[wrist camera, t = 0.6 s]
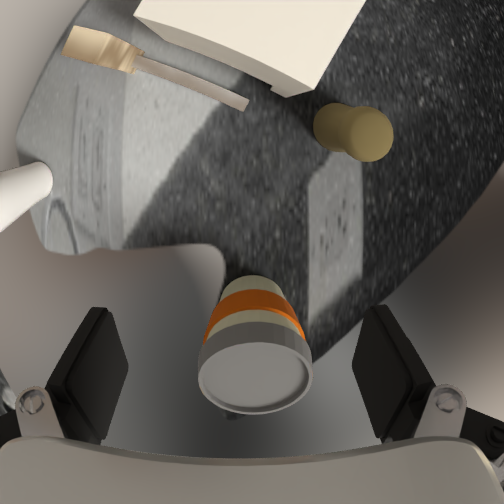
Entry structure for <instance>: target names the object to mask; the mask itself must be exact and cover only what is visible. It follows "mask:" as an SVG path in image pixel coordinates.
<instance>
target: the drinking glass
mask: <svg viewBox="0 0 504 504" xmlns="http://www.w3.org/2000/svg"><path fill="white" fill-rule="evenodd" d="M52 186H53V176H52V173H51V171H50V169H49V167H48V166H47V165H46V164H44V163H42V162H33V163H31V164H28V165H24V166H20V167H16V168H13V169H9V170H5V171H1V172H0V232H2V231H3V230H4V229H5V228H7V227H8V226H9V225H10V224H11V223H13V222H14V221H15V220H16V219H17V218H18V217H20V216H21V215H22V214H23V213H24V212H26V211H27V210H28V209H29V208H31V207H32V206H33V205H35V204H36V203H37V202H38V201H40V200H42V199H43V198H45V197H46V196H47V195H48V194H49V193H50V191H51V189H52Z"/></svg>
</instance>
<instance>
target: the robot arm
mask: <svg viewBox="0 0 504 504" xmlns="http://www.w3.org/2000/svg"><path fill="white" fill-rule="evenodd" d="M352 369H353V372H354V375H355V378H356V381H357V383H358V386H359V389H360V392H361V395H362V398H363V401H364V403H365V407H366V409H367V412H368V415H369V418H370V421H371V424H372V427H373V430H374V433H375V436H376V437H377V438H380V439H381V442H382V444H381V445H375V446H369V447H364V448H358V449H352V450H346V451H338V452H331V453H324V454H315V455H305V456H293V457H279V458H257V459H256V458H254V459H221V458H196V457H182V456H170V455H160V454H152V453H144V452H137V451H130V450H124V449H118V448H112V447H107V446H101V445H100V443H101V440H102V439H103V440H104V439H105V438H106V436H107V433H108V430H109V426H110V423H111V420H112V417H113V414H114V411H115V407H116V405H117V402H118V399H119V396H120V393H121V389H122V387H123V384H124V381H125V378H126V375H127V372H128V362H127V359H126V356H125V353H124V350H123V347H122V344H121V341H120V338H119V335H118V331H117V328H116V325H115V321H114V318H113V315H112V313H111V312H108V310H107V308H103V307H92V308H91V309H90V310H89V312H88V314H87V315H86V316H85V318H84V320H83V322H82V323H81V325H80V326H79V328H78V329H77V331H76V333H75V334H74V336H73V338H72V339H71V341H70V343H69V344H68V346H67V348H66V350H65V351H64V353H63V355H62V356H61V359H60V360H59V362H58V364H57V365H56V367H55V369H54V371H53V372H52V374H51V376H50V378H49V380H48V382H47V385H46V387H45V388H41V387H38V386H33V387H29V388H27V389H25V390H23V391H22V392H21V393H20V394H19V395H18V397H17V399H16V402H15V410H13V411H11V412H9V413H6V414H4V415H2V416H0V504H504V422H502V421H500V420H498V419H495V418H493V417H490V416H488V415H485V414H483V413H480V412H477V411H475V410H473V409H471V408H468V407H466V406H467V405H466V404H467V401H466V397H465V395H464V394H463V392H462V391H461V390H460V389H458V388H456V387H455V386H453V385H448V384H441V385H438V386H436V385H435V383H434V381H433V380H432V378H431V376H430V374H429V372H428V371H427V369H426V367H425V365H424V364H423V362H422V360H421V358H420V357H419V355H418V354H417V352H416V350H415V348H414V347H413V345H412V343H411V342H410V340H409V339H408V338H407V337H406V335H405V333H404V332H403V330H402V329H401V327H400V325H399V324H398V322H397V320H396V319H395V317H394V316H393V314H392V312H391V311H390V310H389V308H388V306H387V305H385V304H384V305H372V306H371V307H370V309H368V310H366V311H365V315H364V319H363V323H362V327H361V331H360V335H359V338H358V343H357V346H356V349H355V353H354V357H353V360H352Z"/></svg>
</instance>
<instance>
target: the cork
mask: <svg viewBox="0 0 504 504" xmlns="http://www.w3.org/2000/svg"><path fill="white" fill-rule="evenodd" d="M313 132H314V135H315V137H316V139H317V141H318V142H319V143H320V144H321V145H322V146H323V147H324V148H326V149H328V150H331V151H335V152H346V153H347V154H348V155H350V156H352V157H353V158H355V159H356V160H360V161H363V162H369V161H376V160H378V159H380V158H382V157H383V156H384V155H386V154H387V153H388V151H389V149H390V148H391V146H392V142H393V129H392V126H391V123H390V121H389V120H388V118H387V117H386V116H385V115H384V114H383V113H381V112H380V111H379V110H377V109H375V108H372V107H369V106H361V107H356V108H352V107H350V106H348V105H345V104H341V103H330V104H328V105H325V106H323V107H322V108H321V109H320V110H319V111H318V112H317V114H316V116H315V117H314V122H313Z"/></svg>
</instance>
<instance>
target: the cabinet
mask: <svg viewBox="0 0 504 504" xmlns="http://www.w3.org/2000/svg"><path fill="white" fill-rule="evenodd" d="M365 1H366V0H142V1H141V3H140V5H139V6H138V8H137V10H136V11H135V13H134V15H133V16H135V17H136V18H137V19H139V20H140V21H141V22H142V23H144V24H145V25H146V26H148V27H149V28H150V29H151V30H153V31H154V32H155V33H156V34H158V35H159V36H160V37H161V38H163V39H164V40H165V41H167V42H170V43H173V44H175V45H178V46H181V47H184V48H187V49H189V50H192V51H195V52H197V53H200V54H203V55H205V56H208V57H210V58H213V59H215V60H217V61H220V62H222V63H225V64H227V65H229V66H232V67H234V68H236V69H238V70H241V71H243V72H245V73H247V74H249V75H251V76H254V77H256V78H258V79H260V80H262V81H264V82H266V83H268V84H270V85H272V87H271V89H270V90H271V91H273V92H275V93H277V94H279V95H281V96H283V97H285V98H287V97H290V96H294V95H297V94H300V93H304V92H307V91H311V90H314V89H315V87H316V85H317V83H318V82H319V80H320V78H321V76H322V75H323V73H324V71H325V69H326V68H327V66H328V64H329V62H330V61H331V59H332V57H333V55H334V54H335V52H336V50H337V48H338V47H339V45H340V43H341V42H342V40H343V38H344V36H345V35H346V33H347V31H348V30H349V28H350V26H351V24H352V23H353V21H354V19H355V18H356V16H357V14H358V13H359V11H360V9H361V8H362V6H363V4H364V3H365Z"/></svg>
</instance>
